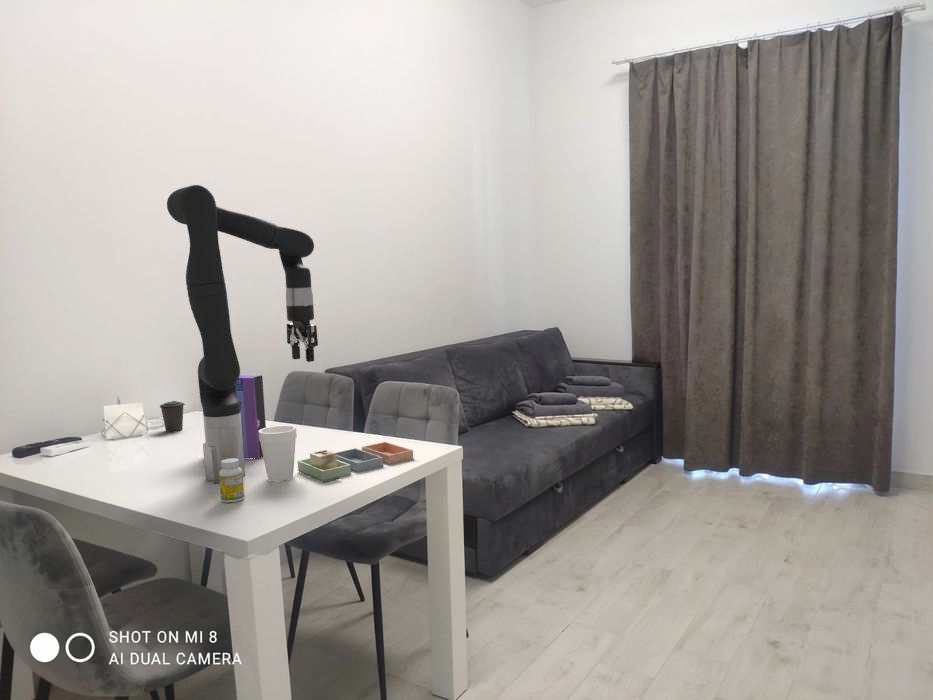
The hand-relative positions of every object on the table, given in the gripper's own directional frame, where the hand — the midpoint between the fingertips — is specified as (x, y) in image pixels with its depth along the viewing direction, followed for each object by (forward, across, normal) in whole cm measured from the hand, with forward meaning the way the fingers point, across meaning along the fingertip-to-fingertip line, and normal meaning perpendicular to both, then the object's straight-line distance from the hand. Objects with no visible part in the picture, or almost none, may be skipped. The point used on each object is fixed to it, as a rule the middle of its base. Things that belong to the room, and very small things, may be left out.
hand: (303, 360), depth 202 cm
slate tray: (+28, +20, +4) cm, 35 cm away
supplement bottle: (+28, +23, -32) cm, 49 cm away
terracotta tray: (+28, +20, +14) cm, 37 cm away
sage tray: (+28, +20, -6) cm, 35 cm away
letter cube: (+28, +20, -6) cm, 34 cm away
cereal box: (+28, -16, -15) cm, 36 cm away
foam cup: (+28, +15, -16) cm, 36 cm away
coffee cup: (+28, -67, -17) cm, 75 cm away
